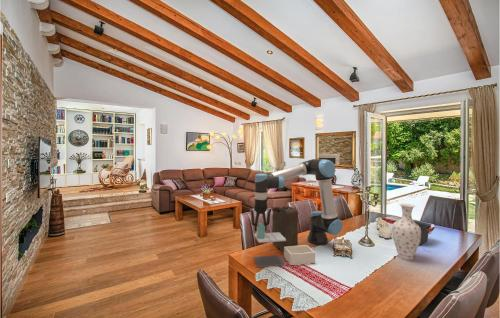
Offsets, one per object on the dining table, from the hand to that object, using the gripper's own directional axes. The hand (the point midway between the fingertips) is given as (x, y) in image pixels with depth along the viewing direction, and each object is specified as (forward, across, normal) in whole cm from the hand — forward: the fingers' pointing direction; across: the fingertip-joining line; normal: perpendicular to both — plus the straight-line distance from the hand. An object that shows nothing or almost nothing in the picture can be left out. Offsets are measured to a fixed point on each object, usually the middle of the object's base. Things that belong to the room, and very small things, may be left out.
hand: (260, 236), depth 151 cm
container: (+17, -22, -18) cm, 33 cm away
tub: (+16, -25, +2) cm, 30 cm away
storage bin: (+16, -128, -10) cm, 130 cm away
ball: (+16, -28, 0) cm, 32 cm away
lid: (+2, -6, 0) cm, 6 cm away
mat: (+16, -6, 0) cm, 18 cm away
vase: (+16, -96, +11) cm, 98 cm away
